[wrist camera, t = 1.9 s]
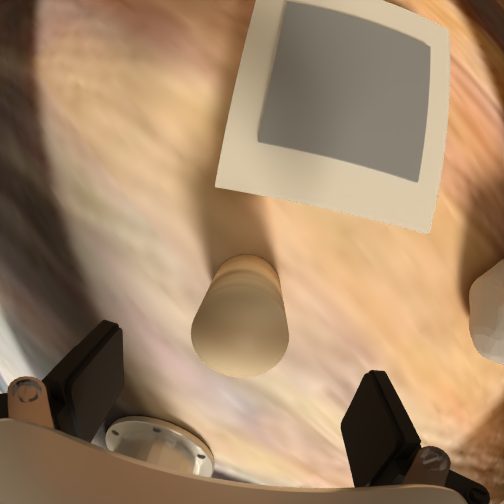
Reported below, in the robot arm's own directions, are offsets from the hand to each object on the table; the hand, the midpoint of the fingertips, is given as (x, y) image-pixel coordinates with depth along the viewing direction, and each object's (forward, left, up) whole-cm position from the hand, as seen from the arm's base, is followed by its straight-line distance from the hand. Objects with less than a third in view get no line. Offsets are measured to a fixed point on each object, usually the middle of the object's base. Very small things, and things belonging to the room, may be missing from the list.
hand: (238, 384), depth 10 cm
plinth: (+14, -4, -13) cm, 20 cm away
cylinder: (-1, 0, -13) cm, 13 cm away
